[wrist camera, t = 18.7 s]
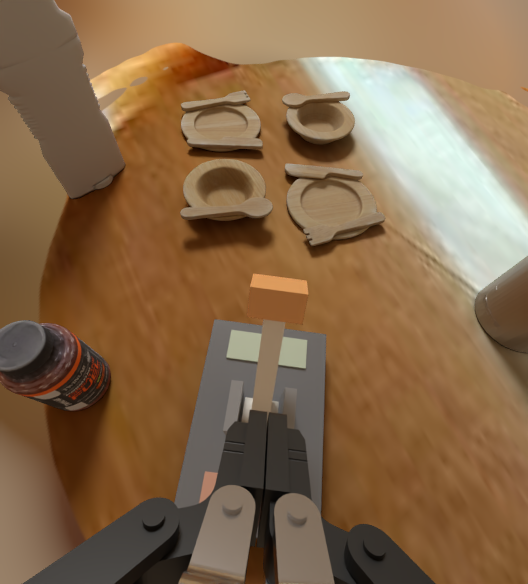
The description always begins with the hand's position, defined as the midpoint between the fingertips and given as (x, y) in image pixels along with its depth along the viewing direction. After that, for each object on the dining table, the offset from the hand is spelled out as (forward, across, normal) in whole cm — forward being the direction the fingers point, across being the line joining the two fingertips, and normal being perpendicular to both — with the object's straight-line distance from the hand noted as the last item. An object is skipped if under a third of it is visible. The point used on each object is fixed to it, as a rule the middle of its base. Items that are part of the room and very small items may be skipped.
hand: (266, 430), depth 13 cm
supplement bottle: (+18, -18, -12) cm, 28 cm away
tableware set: (+44, -2, +14) cm, 47 cm away
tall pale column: (+38, -28, +9) cm, 48 cm away
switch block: (+17, 0, -12) cm, 21 cm away
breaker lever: (+14, 0, -10) cm, 17 cm away
